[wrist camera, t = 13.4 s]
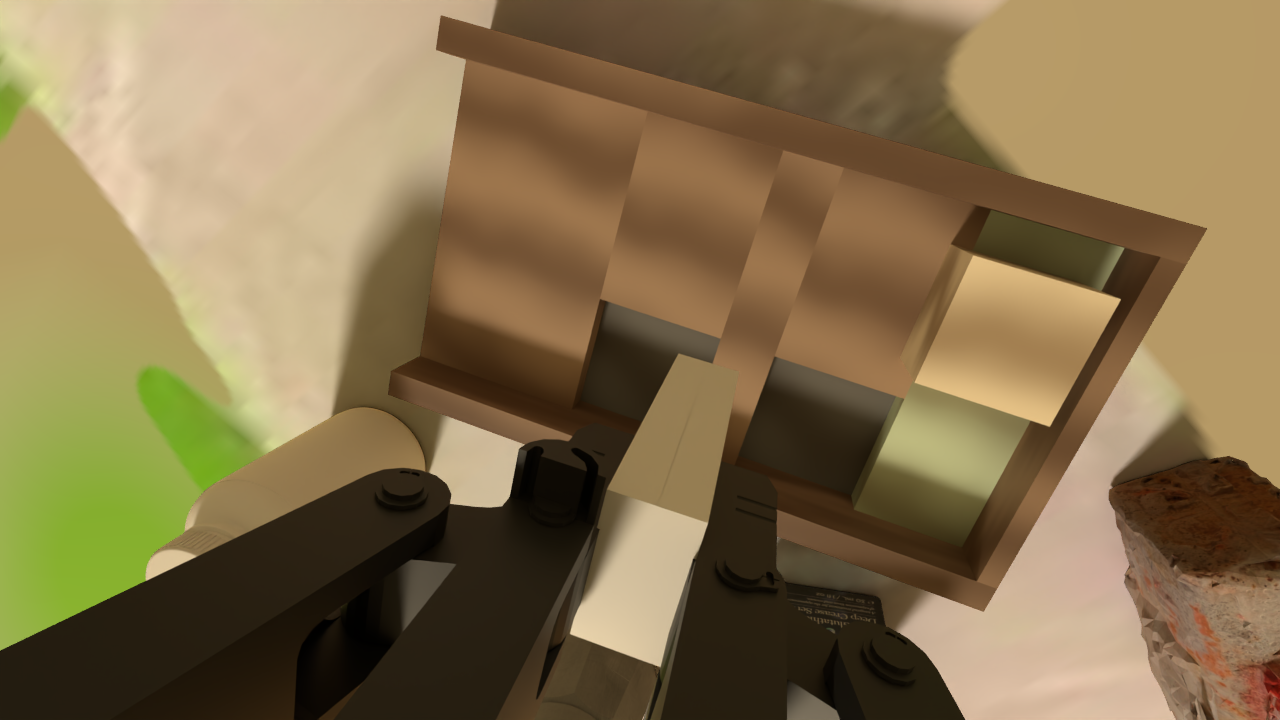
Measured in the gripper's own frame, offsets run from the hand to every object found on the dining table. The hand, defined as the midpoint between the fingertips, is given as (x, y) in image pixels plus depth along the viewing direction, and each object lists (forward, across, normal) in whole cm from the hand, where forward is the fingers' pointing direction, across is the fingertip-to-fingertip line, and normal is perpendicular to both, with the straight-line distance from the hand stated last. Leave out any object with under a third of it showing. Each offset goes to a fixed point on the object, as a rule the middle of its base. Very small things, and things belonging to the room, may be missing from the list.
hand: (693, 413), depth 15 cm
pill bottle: (+21, -20, -20) cm, 35 cm away
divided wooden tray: (+21, 0, -2) cm, 21 cm away
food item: (+21, +28, -9) cm, 36 cm away
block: (+19, +12, +1) cm, 22 cm away
